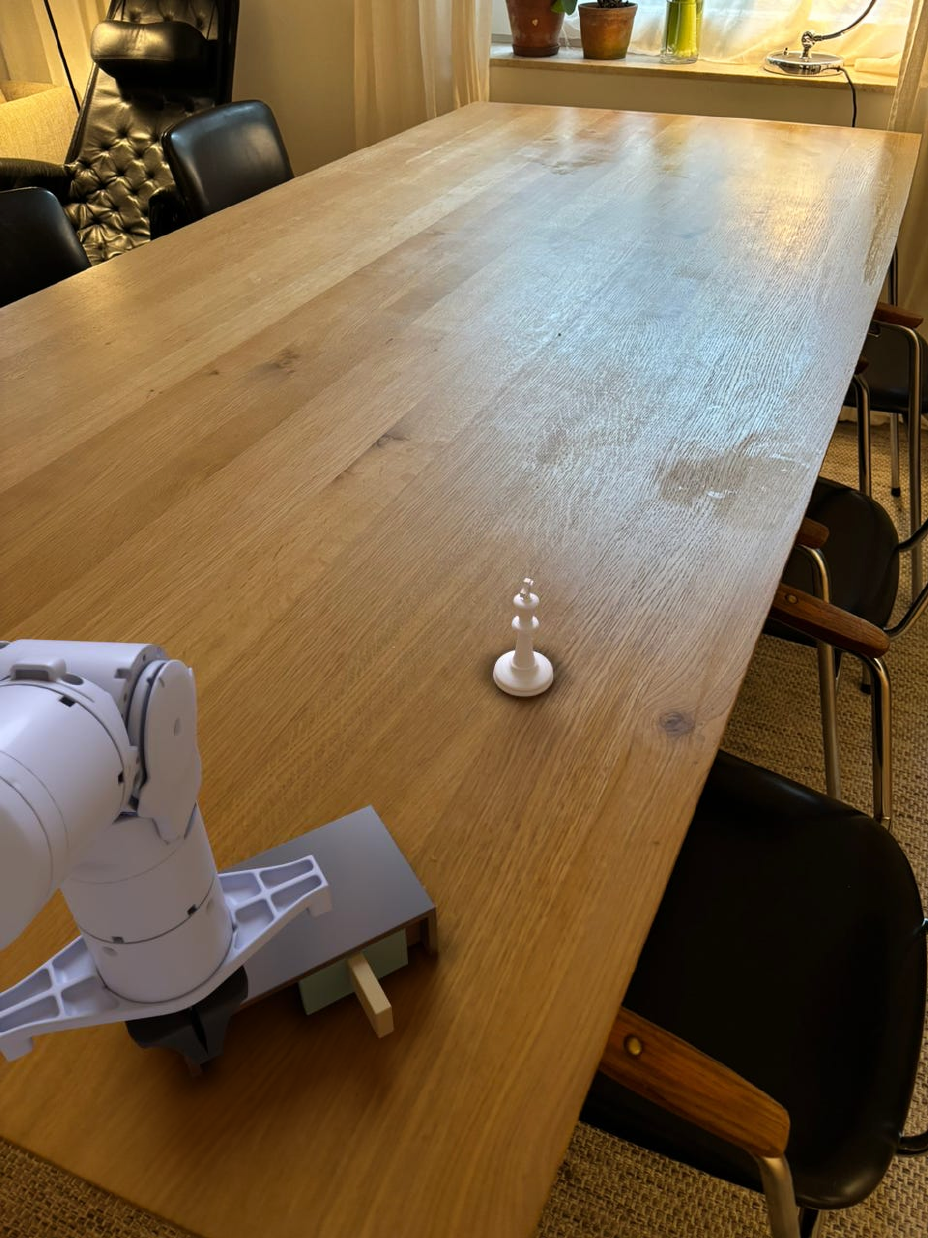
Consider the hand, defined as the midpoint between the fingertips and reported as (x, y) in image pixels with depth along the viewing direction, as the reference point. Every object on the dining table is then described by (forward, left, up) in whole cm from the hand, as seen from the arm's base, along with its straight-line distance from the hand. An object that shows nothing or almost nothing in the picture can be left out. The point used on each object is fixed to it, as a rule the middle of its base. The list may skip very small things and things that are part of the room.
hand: (203, 1042), depth 49 cm
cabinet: (+7, +8, -9) cm, 14 cm away
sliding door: (+9, +2, -9) cm, 13 cm away
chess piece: (+33, +22, -10) cm, 41 cm away
